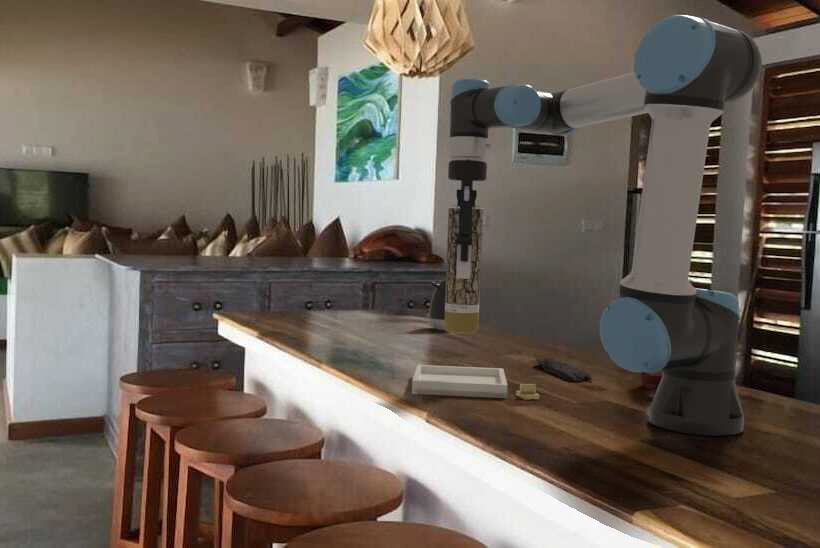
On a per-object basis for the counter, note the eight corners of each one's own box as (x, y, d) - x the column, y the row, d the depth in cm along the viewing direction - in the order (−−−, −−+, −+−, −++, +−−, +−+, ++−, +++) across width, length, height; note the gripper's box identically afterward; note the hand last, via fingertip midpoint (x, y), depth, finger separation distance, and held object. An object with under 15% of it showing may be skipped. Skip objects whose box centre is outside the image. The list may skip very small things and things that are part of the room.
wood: (604, 384, 181) (604, 370, 181) (572, 385, 179) (573, 370, 179) (558, 366, 203) (558, 353, 202) (529, 366, 200) (529, 353, 200)
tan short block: (539, 400, 162) (539, 386, 162) (524, 401, 161) (525, 386, 161) (530, 396, 166) (530, 382, 166) (515, 396, 165) (516, 382, 165)
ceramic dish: (506, 398, 162) (507, 385, 162) (411, 393, 163) (412, 380, 163) (502, 380, 180) (503, 368, 179) (417, 376, 181) (417, 364, 181)
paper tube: (475, 335, 167) (481, 206, 165) (441, 333, 168) (446, 205, 166) (480, 330, 173) (485, 206, 172) (446, 328, 175) (451, 205, 173)
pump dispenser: (421, 327, 261) (423, 277, 260) (452, 326, 265) (453, 277, 264) (436, 332, 251) (438, 280, 250) (468, 331, 256) (469, 280, 255)
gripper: (488, 157, 158) (483, 281, 160) (485, 164, 178) (481, 274, 179) (447, 156, 159) (443, 280, 160) (449, 162, 178) (445, 273, 180)
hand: (463, 276), depth 170 cm, fingers closed on paper tube, 7 cm apart
